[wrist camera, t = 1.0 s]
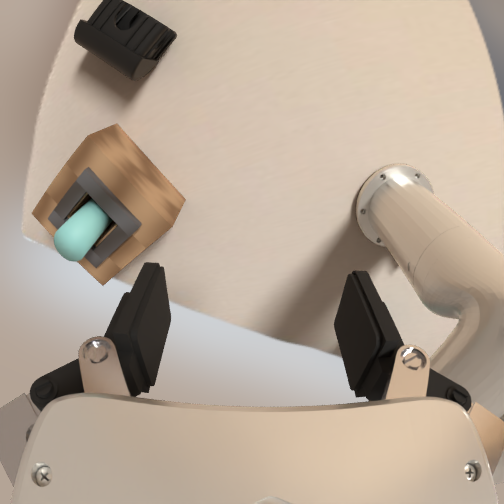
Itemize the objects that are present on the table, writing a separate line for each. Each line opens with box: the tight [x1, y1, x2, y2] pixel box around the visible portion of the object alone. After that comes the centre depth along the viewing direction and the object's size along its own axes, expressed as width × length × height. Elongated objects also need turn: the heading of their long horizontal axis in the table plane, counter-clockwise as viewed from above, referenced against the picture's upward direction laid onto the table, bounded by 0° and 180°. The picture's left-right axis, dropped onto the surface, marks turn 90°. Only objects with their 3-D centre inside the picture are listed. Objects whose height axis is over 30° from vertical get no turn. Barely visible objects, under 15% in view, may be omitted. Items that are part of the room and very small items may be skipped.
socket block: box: [32, 124, 186, 285], centre depth 35 cm, size 14×14×9 cm
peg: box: [54, 198, 113, 261], centre depth 31 cm, size 4×4×9 cm
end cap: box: [74, 0, 177, 81], centre depth 25 cm, size 10×7×7 cm
